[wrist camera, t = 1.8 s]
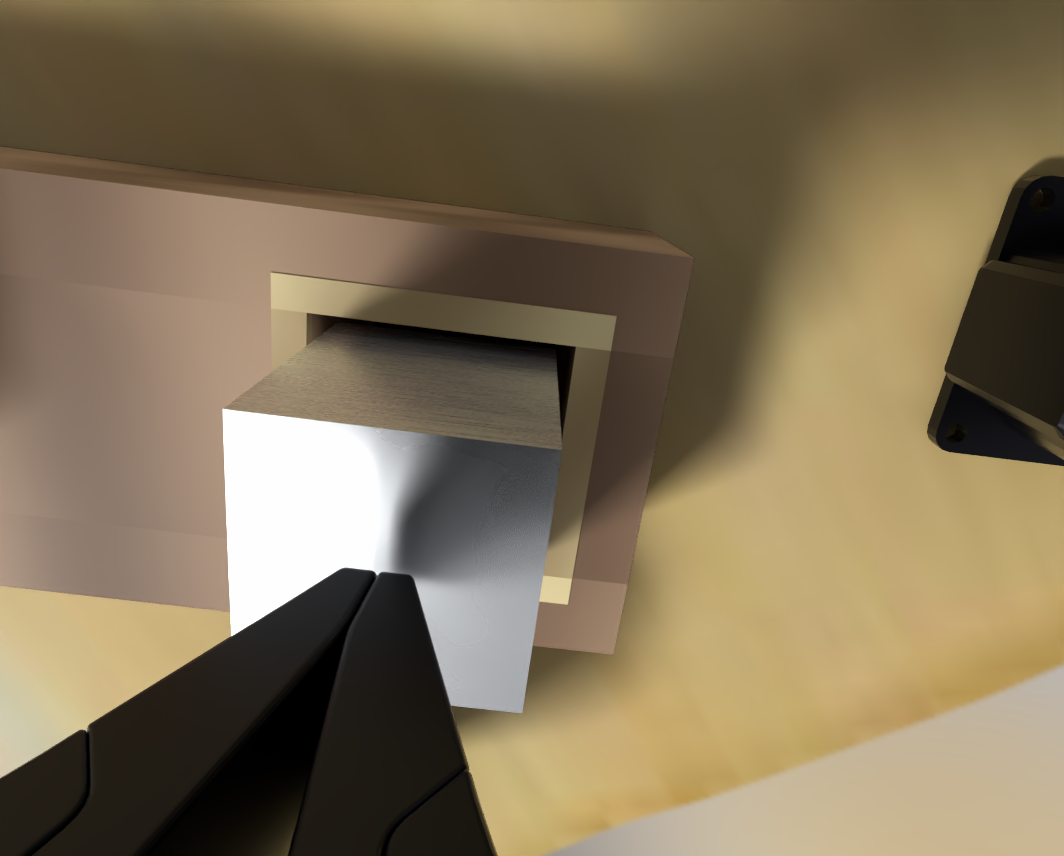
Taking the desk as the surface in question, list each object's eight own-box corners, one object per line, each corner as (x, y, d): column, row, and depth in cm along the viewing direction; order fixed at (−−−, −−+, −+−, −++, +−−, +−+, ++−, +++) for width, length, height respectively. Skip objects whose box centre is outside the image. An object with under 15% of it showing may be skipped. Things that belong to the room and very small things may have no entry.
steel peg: (555, 349, 13) (562, 449, 8) (529, 538, 14) (522, 713, 10) (337, 321, 12) (222, 409, 8) (333, 515, 14) (233, 681, 9)
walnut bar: (649, 231, 16) (694, 258, 11) (596, 533, 19) (613, 655, 14) (-237, 115, 15) (-582, 92, 11) (-154, 445, 18) (-397, 542, 13)
